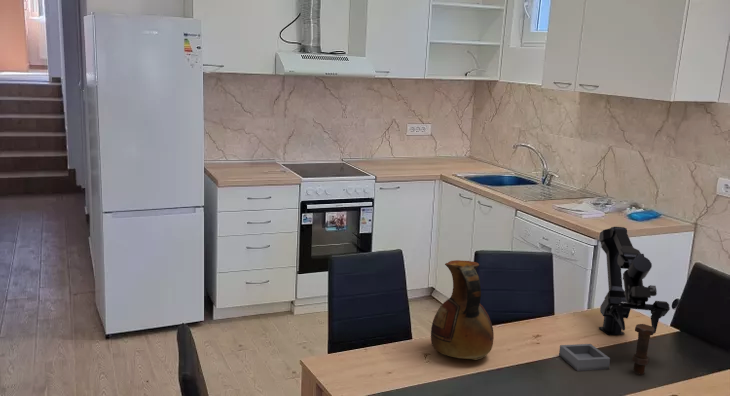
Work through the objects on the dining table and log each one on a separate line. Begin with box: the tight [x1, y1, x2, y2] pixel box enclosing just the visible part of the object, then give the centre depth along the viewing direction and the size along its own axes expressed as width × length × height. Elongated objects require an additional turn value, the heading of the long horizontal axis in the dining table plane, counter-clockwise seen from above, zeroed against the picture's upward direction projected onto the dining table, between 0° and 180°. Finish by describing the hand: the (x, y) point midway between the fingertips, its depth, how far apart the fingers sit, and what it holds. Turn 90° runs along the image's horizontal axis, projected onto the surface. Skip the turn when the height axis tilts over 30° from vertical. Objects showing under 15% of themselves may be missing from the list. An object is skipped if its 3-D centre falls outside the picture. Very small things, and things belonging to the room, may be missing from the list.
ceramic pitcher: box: [430, 259, 495, 361], centre depth 204 cm, size 20×20×30 cm
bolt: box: [631, 323, 656, 376], centre depth 199 cm, size 6×5×15 cm
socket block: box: [558, 343, 611, 372], centre depth 206 cm, size 11×11×4 cm
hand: (639, 331), depth 203 cm, fingers open, 9 cm apart
